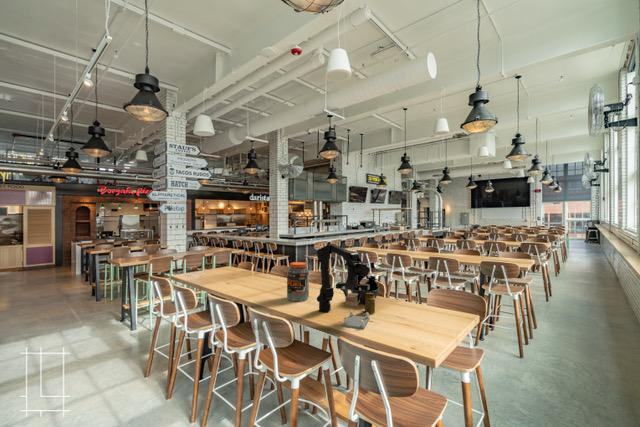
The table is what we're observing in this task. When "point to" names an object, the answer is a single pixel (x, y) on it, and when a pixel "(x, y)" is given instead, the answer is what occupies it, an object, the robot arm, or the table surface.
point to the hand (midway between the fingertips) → (352, 301)
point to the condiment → (369, 304)
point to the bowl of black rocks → (373, 289)
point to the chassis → (356, 321)
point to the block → (352, 299)
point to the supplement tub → (298, 281)
